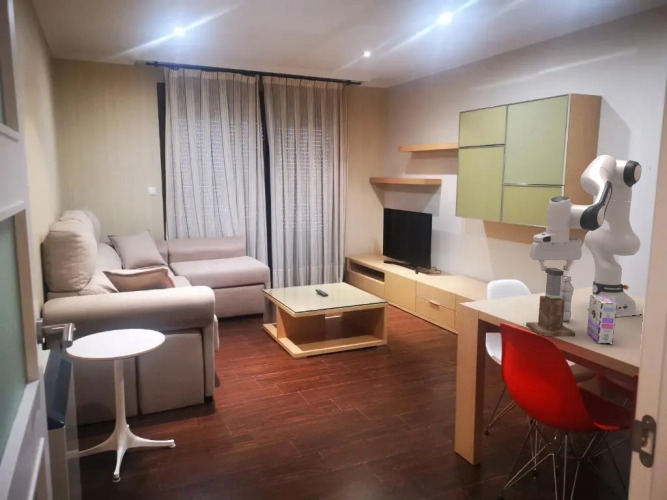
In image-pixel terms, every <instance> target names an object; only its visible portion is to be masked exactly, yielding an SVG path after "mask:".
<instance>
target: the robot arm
mask: <svg viewBox="0 0 667 500" xmlns="http://www.w3.org/2000/svg"><path fill="white" fill-rule="evenodd" d="M642 171H643V170H642V166H641V164H640V162H639V161H635V160H631V159H630V160H626V159H625V160H624V159H623V160H622V159H616V158H614V157H613V156H612V155H609V154H601V155H598V156H597V157H596V158H594V159H593V160H592V161H591V162H590V164H588V166H587V167H586V168H585V169H584V171H583V173H581V176H580V181H579V183H580V186H581V188H582V189H583V190H584V191H585V192H586V193H587V194H589V195H591V196H595V197H596V198H595V200H594V203H593V204H589V205H588V204H587V205H586V204H574V203H572V202H571V198H570V197H568V196H560V195H559V196H554V197H552V198H550V199H549V203H548V206H547V212H546V222H547V224H546V228H545V231H543V232H541V233H537V234H534V235H533V237H532V239H533V242H532V243H531V247H530V251H529V255H530V256H529V257H530V258H531V260H534V261H538V264H539V265H540V271H542V272H544V271H545V272H546V268H548V267H547V265H545V264H544V263H545V261H565V262H566V264H565V265H562V267H563V268H562V271H565V272H566V271H570V270H569V269H570V267H571V265H572V263H573V260H574V261H575V260H576V261H577V260H578V261H579V260H581V258H582V254H583V252H582V243H583V241H582V239H581V238H580V237H578V236H570V233H571V229H579V230H586V231H587V233H586V234H585V236H584V245H585V247H586V249H588V250H589V251H590V253H591V255H592V258H593V261H594V280H593V282H592V290H591V291H592V294H591V295H602V296H606V297H607V298H609V299H610V300H612V301H613V302H615V303H617V309H616V318H620V317H631V316H632V315H636V316H641V315H642V312H641V311H639V310H638V309H637V306H636V305H637V304H636V301H635V300H634V299H633V298H632V297H631V296H630V295H629V294H627V293H626V291H628V290H629V289H630V286H629V285H626V284H622V283H621V282H622V276H623V275H622V273H623V268H622V265H621V264H620V263H619V262H617V260H616V258H615V256H620V257H623V256H624V257H626V256H627V257H628V256H634V255H636V254H637V253H638V252H639V251H640V249H641V241H640V238H639V236H638V235H637V234H636V232H634V230H633V229H632V225H631V223H630V222H631V221H630V213H631V205H632V199H633V186H634V185H636V184H637V183H638V182H639V180H640V179H641V177H642V173H643V172H642ZM604 220H605V221H606V222H607V224H608V227H609V229H604V228H601V226H603V224H604ZM570 228H571V229H570ZM614 255H615V256H614ZM624 290H626V291H624ZM587 310H588V311H589V306H588V308H587ZM640 314H641V315H640Z"/></svg>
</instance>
